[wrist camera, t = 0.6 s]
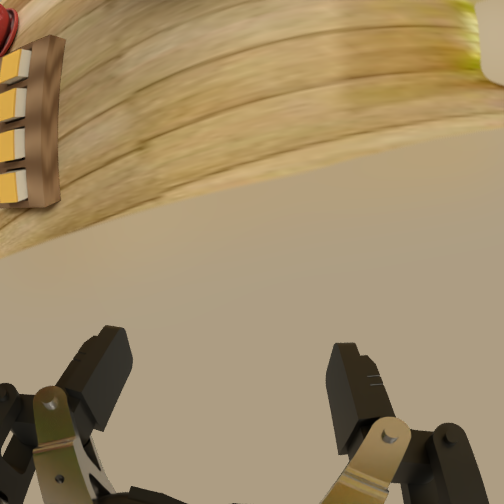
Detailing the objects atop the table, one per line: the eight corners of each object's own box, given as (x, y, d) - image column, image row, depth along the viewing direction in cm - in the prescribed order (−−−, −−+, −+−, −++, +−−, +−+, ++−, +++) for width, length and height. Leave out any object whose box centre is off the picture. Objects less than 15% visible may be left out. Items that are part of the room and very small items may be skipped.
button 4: (14, 170, 32) (-3, 175, 29) (31, 167, 32) (13, 172, 29) (16, 196, 34) (0, 203, 30) (33, 195, 34) (16, 202, 30)
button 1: (19, 59, 26) (2, 57, 22) (37, 52, 26) (20, 48, 22) (16, 84, 27) (-1, 83, 24) (33, 77, 27) (16, 75, 23)
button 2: (15, 95, 28) (-2, 94, 24) (32, 88, 28) (14, 87, 24) (13, 120, 30) (-4, 122, 26) (30, 116, 29) (12, 117, 26)
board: (14, 60, 27) (-1, 58, 24) (65, 39, 27) (50, 34, 23) (12, 201, 37) (-3, 208, 33) (60, 200, 37) (45, 207, 33)
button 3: (13, 132, 30) (-4, 134, 26) (30, 127, 30) (12, 129, 26) (14, 158, 32) (-4, 163, 28) (30, 155, 32) (13, 159, 28)
